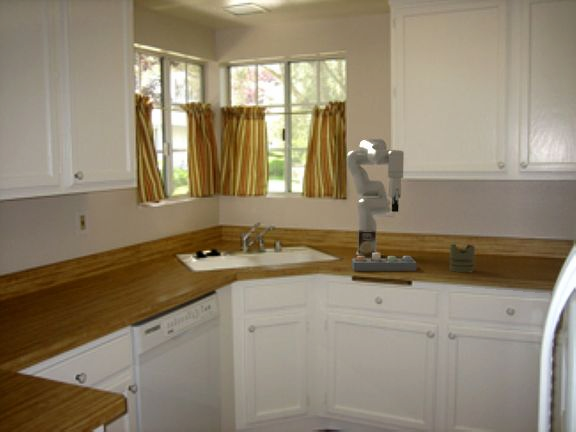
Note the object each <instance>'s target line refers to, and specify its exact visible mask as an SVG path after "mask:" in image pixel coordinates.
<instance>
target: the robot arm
mask: <svg viewBox="0 0 576 432" xmlns="http://www.w3.org/2000/svg"><path fill="white" fill-rule="evenodd" d="M404 153H405V152H404V151H402V150H401V149H400V150H398V149H397V150H396V149H387V143H386V141H385V140H383V138H382V139H381V138H365V139H363V140H362V141H360V144H359V149H354V150H351V151H349V152H348V153H347V156H346V163H347V168H348V170H349V172H350V174H351V176H352V179H353V183H354V188H355V191H356V194H357V196H358V197H360V199H359V200H358V202H357V211H358V230H373V231H376V232H377V221H376V219H375V218H374V216H378V215H386V214H387V213H388V212H389V210H390V203H389V198H391V212H393V213H398V212H399V207H400V206H399V204H400V203H399V202H400V200H399V199H400V198H401V197H402V179H404V160H405V159H404V158H405V157H404V155H405V154H404ZM371 165H372V166H374V165H379V166H381V165H386V166H387V178H388V179H389V182H388V193H387V192H386V187H385V184H384V183H383V182H382V181H381V180H371V179H370V178H369V174H368V172H367V171H366V169H365V168H364V167H362V166H371ZM388 197H389V198H388ZM355 253H356V255H357V256H358V251H356V252H355ZM375 253H380V252H379V251H377V245H376V246H375Z"/></svg>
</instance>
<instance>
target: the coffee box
mask: <svg viewBox="0 0 576 432" xmlns="http://www.w3.org/2000/svg"><path fill="white" fill-rule="evenodd" d="M357 232H358V235H357V236H358V237H357V238H358V239H357V252H358V255H357V256H365V258H372V253H375V246H376V247H377V230H376V231H373V230H359V229H358V231H357Z"/></svg>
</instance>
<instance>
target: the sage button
mask: <svg viewBox="0 0 576 432" xmlns="http://www.w3.org/2000/svg"><path fill="white" fill-rule="evenodd" d="M387 258H388V261H396V258H397V257H396V256H395V255H388V256H387Z"/></svg>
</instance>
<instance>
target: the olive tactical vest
mask: <svg viewBox="0 0 576 432" xmlns="http://www.w3.org/2000/svg"><path fill="white" fill-rule="evenodd" d="M449 248H450V249H449V258H450V259H449V271H450V270H451V272H453V271H456V272H455V273H460V272H470V271H474V272H475V260H474V259H475V255H476V254H475V253H476V251H475V249H476V248H475V245H473V244H466V247H465V248H458V246H456V243H455V244H453V243H452V244H450V246H449ZM470 273H471V272H470Z"/></svg>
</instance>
